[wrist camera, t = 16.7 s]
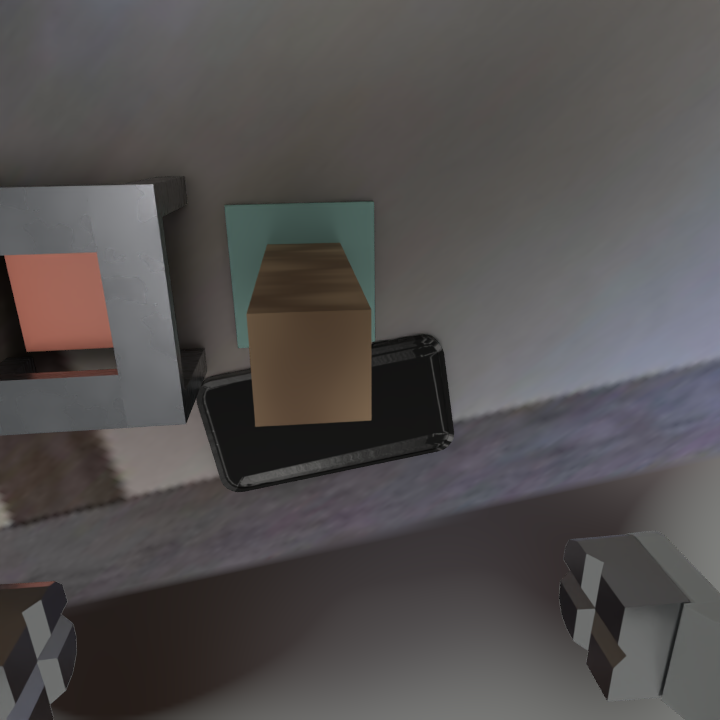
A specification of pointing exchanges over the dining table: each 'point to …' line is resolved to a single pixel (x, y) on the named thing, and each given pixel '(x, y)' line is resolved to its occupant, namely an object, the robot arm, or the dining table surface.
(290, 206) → the mat
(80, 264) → the salmon pink panel
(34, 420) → the frame
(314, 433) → the phone
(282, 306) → the peg
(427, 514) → the dining table surface
